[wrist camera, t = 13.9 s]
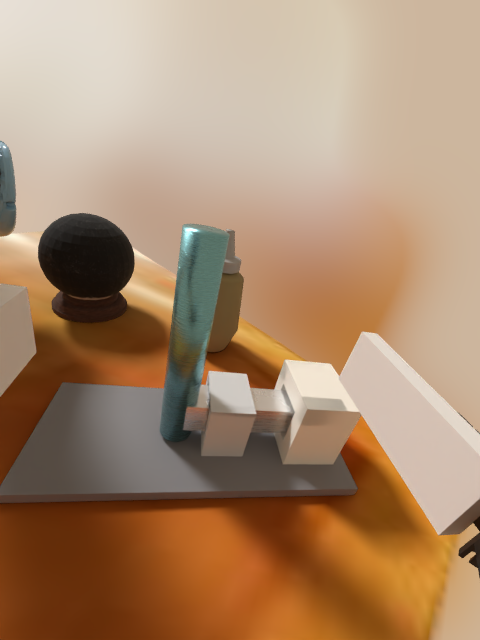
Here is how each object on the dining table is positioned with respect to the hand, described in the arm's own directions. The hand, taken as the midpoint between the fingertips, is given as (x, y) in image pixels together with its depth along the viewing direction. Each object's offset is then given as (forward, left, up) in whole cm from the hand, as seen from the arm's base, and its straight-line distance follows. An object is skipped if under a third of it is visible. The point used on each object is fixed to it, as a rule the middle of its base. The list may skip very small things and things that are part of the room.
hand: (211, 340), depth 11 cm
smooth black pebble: (-2, +39, -19) cm, 44 cm away
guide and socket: (+7, +8, -19) cm, 21 cm away
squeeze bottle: (+14, +25, -19) cm, 34 cm away
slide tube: (+9, +7, -17) cm, 21 cm away
